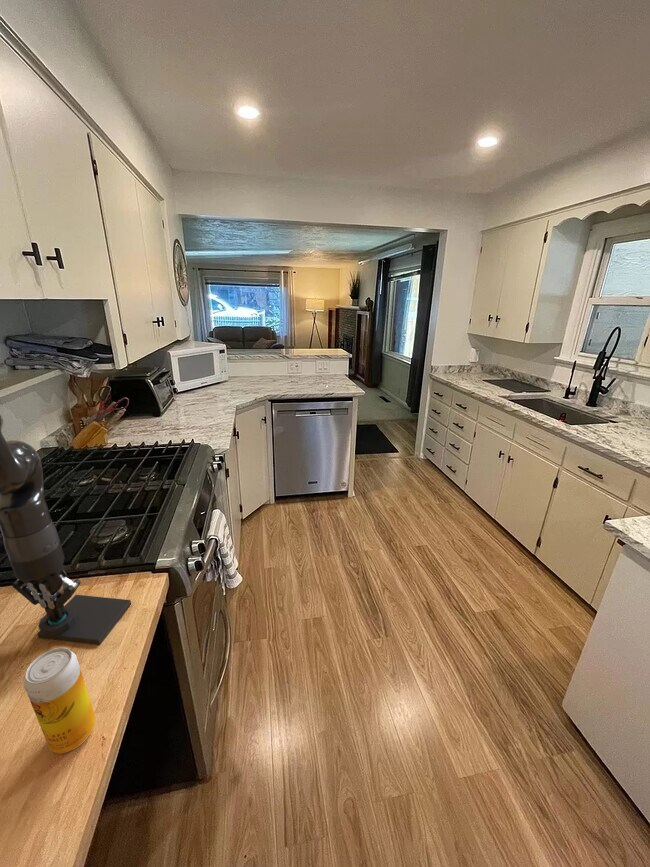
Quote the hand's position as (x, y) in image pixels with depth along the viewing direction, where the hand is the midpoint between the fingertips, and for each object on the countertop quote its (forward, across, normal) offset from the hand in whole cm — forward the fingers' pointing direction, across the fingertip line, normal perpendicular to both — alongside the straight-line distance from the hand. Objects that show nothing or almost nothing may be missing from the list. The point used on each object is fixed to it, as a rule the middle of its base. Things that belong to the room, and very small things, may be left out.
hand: (57, 618), depth 72 cm
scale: (+3, -4, -3) cm, 5 cm away
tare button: (+2, 0, 0) cm, 2 cm away
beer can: (+3, -17, +17) cm, 24 cm away
